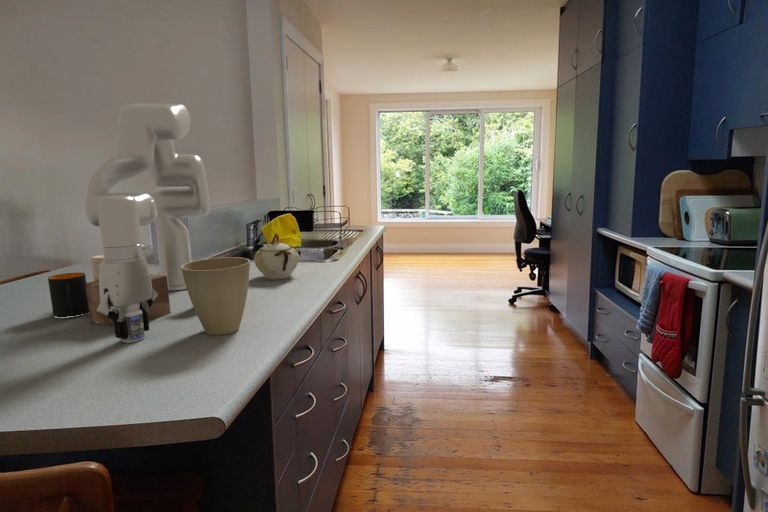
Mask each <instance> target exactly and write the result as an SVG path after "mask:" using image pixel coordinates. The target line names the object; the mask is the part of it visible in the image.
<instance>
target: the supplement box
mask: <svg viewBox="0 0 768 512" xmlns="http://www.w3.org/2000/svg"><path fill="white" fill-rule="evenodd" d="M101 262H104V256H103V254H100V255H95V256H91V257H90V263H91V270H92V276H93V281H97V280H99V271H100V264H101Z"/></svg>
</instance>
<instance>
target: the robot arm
mask: <svg viewBox="0 0 768 512" xmlns="http://www.w3.org/2000/svg"><path fill="white" fill-rule="evenodd" d="M190 127H191V117H190V112H189V111H188V109H187V107H186V106H185V105H184V104H182V103H153V102H152V103H151V102H150V103H128V104H125V105H122V106H121V108H120V109H119V116H118V122H117V129H116V130H117V131H116V139H115V140H116V141H115V146H114V153H113V155H112V156H110V157H109V158H107V159H106V160H105V161H103V163H101V164H100V165H99V167H97V168H96V170H94V172H93V173H92V175H91V176H90V178H89V180H88V183H87V188H86V189H87V190H86V194H85V195H86V196H85V201H84V203H85V204H84V205H85V206H84V207H85V208H84V210H85V217H86V218H87V220H88V222H89V223H90V224H91V225H93V226H94V227H99V232H100V239H101V247H102V255H103V256H104V262H101V264H100V271H99V293H100V304H99V306H98V308H97V312H98V313H100V314H103V315H105V316H106V317H108V318H109V319H110V320H111V321H113V324H114V326H113V331H114V337H116V339H127V338H128V330H127V322H126V321H123V320H124V311H125V307H127V306H130V305H132V304H135V303H140V308H139V309H140V310H141V311H142V314H143V324H144V332H148V331H150V324H149V323H150V322H149V321H150V320H149V321H148V313H149V312H150V307H151V305H152V304H153V301H154V300H155V299H156V297H157V296H158V293H157V292H156V291H155V290H154V289H153V288H152V283H151V277H150V274H151V273H150V267H149V265H148V262H147V259H146V257H145V256H143V255H144V253H143V251H144V250H145V249H146V246H145V244H143V243H142V235H141V228H140V226H146V225H147V226H148V225H150V224H151V223H154V225H155V233H156V242H157V244H156V245H157V252H158V260H159V270H160V271H159V272H157V273H156V275H163V276H167V284H168V292H171V291H184V290H187V288H186V285H185V281H184V277H183V274H182V270H181V266H182V265H184V264H186V263H189V262H192V261H193V260H192V252H191V251H192V250H191V240H190V231H189V229H188V227H187V226H186V225H185V224H184V223H183V221H181V220H180V219H183V218H184V219H185V218H200V217H205V216H207V215H209V213H210V211H211V200H210V192H209V187H208V185H209V184H208V181H207V180H208V179H207V173H206V168H205V165H204V161H203V160H202V158H201V157H200V156H198V155H196V154H193V153H192V154H191V153H190V154H181V153H180V154H178V153H177V152H176V149H175V143H174V140H180V139H183V137H185V136H186V135H187V134H188V133H189V131H190ZM144 172H147V173H148V176H149V180H150V182H151V183H152V185H154V186H157V187H161V188H156V189H155V190H153V191H152V192H151V193H150V194H148V193H145V192H117V193H116V192H114V193H113V192H112V193H111V192H109V191H110V190H111V189H112V188H113V187H115V186H116V185H117V184H119V183H121V182H122V181H125V180H128V179H130V178H132V177H135V176H138V175H140V174H142V173H144ZM108 192H109V193H108ZM153 221H154V222H153ZM109 306H111V311H110V310H109V309H108V307H109ZM117 310H118V314H117Z"/></svg>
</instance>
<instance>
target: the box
mask: <svg viewBox="0 0 768 512" xmlns="http://www.w3.org/2000/svg"><path fill="white" fill-rule="evenodd" d="M150 277H151V283H152V288H153V289H154V290H155V291H156V292H157V293H158V296H157V297H156V299H155V300H154V301H153V304H152V305H151V307H150V312H149V313H148V321H151V320H154V319H158V318H161V317H163V316H166V315H169V314H171V304H170V297H169V296H170V294H169V291H168V284H167V276H163V275H157V274H152V273H150ZM85 284H86V291H87V298H88V306H89V313H88V314H89V320H90V323H91V322H98V323H103V324H102V325H105V324H108V325H107V326H111V325H114V324H113V321H111V320H110V319H109V318H108V317H106V316H105V315H103V314H100V313H98V312H97V308H98V306H99V304H100V293H99V280H97V281H94V280H93V281H89V282H86V283H85ZM108 309H109V310H110V311H111V306H109V307H108ZM117 314H118V310H117ZM98 323H97V324H98Z"/></svg>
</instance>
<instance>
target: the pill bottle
mask: <svg viewBox="0 0 768 512" xmlns="http://www.w3.org/2000/svg"><path fill="white" fill-rule="evenodd" d="M139 308H140V303H135V304H132V305H130V306H127V307H125V311H124V320H123V321H126V322H127V330H128V338H127V339H121V342H123V343H127V344H128V343H135V342H139V341H140V342H141V341H142V340H144V339H145V337H146V336H145V335H146V334H145V331H144V324H143V314H142V311H141V310H140V309H139Z"/></svg>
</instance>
